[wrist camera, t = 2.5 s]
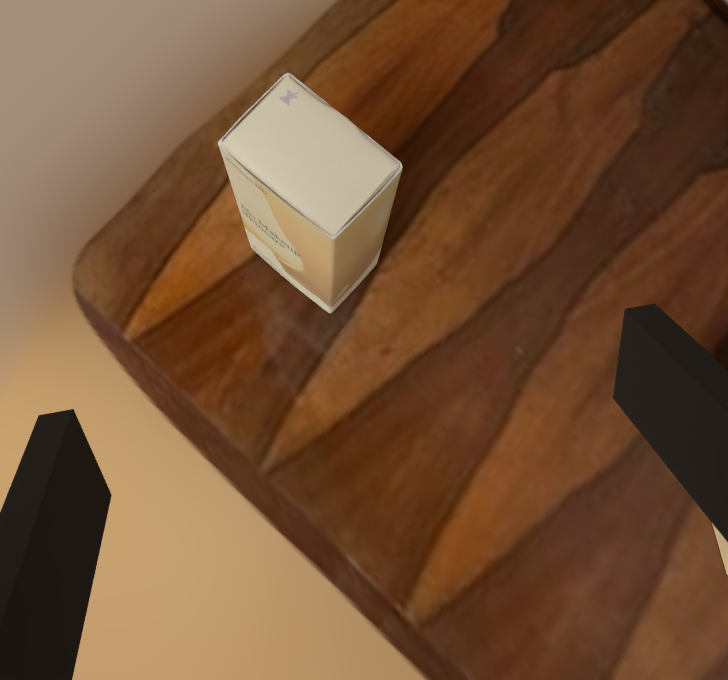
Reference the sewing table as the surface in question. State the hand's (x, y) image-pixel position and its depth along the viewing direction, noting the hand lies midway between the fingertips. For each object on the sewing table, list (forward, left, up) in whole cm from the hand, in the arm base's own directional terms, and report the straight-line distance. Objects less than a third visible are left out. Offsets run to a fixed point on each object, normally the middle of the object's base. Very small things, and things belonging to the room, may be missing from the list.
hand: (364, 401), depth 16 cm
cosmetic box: (-11, 0, -20) cm, 23 cm away
